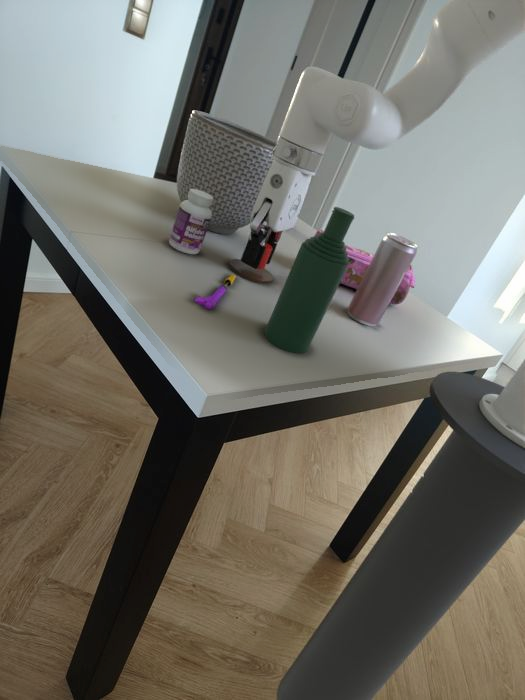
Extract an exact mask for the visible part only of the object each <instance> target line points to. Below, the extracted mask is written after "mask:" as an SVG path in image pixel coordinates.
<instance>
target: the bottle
mask: <svg viewBox="0 0 525 700" xmlns="http://www.w3.org/2000/svg"><path fill="white" fill-rule="evenodd" d="M331 212H332V213H331V215H330V217H329V219H328V221H327V223H326V226H325V229H324V230H323V231H324V233H322V232H321V233H320V234H319V235H315V234H314V235H315V237H314V236H310V237H309V238H306V239H304V241H302V243H301V245H300V247H299V249H298V252H297V253H296V257H295V259H294V261H293V263H292V265H291V268H290V270H289V273H288V275H287V277H286V280H285V282H284V284H283V287H282V289H281V291H280V293H279V296H278V299H277V301H276V303H275V305H274V308H273V310H272V312H271V315H270V317H269V319H268V322H267V324H266V326H265V329H264V331H263V332H264V337H266V339H267V340H268V341H269V342H270V343H272V344H273V345H274V346H276V347H278V348H280V349H281V350H284V351H287V352H289V353H294V354H304V353H306V352H308V350H309V348H310V346H311V343H312V341H314V337H315V336H316V333H317V331H318V329H319V327H320V326H321V323H322V321H323V319H324V317H325V315H326V313H327V311H328V309H329V306H330V305H331V302H332V300H333V298H334V296H335V295H336V292H337V290H338V288H339V286H340V282H341V280H342V278H343V275H344V273H345V271H346V269H347V267H348V265H349V262H348V261H349V257H348V256H347V255H348V253H347V252H346V247H345V246H344V245H346V242H344V240H345V237H346V236H347V233H348V231H349V229H350V228H351V227H350V226H351V224H352V222H353V221H354V220H355V214H354V213H352V212H351V211H348V210H346V209H344V208H341V207H339V206H335V207H334V206H333V210H331Z"/></svg>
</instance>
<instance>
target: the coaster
mask: <svg viewBox="0 0 525 700" xmlns="http://www.w3.org/2000/svg"><path fill="white" fill-rule="evenodd" d="M229 268H230V269H231V270H232V272H234V273H235V274H236V275H238V276H240V277H242V278H243V279H246V280H248V281H251V282H254V283H257V284H263V285H269V284H272V283H273V282H274V280H275V279H274V278H275V277H274V275H273V273H271V272H270V271H269V270H268V269H267V268H266V267H265V268H264V269H254V268H253V267H251V266H249V265H247V264H245V263H243V262H242V261H241V258H234V259H231V260H230V261H229Z"/></svg>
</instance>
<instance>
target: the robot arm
mask: <svg viewBox="0 0 525 700" xmlns="http://www.w3.org/2000/svg"><path fill="white" fill-rule="evenodd" d="M428 32H429V33H428V36H427V39H426V43H425V46H424V48H423V51H422V53H421V55H420V56H419V58H418V59H417V61H416V62H415V63H414V65H413V66H412V67H411V69H410V70H409V71H407V73H406V74H405V75H403V76H402V77H401V78H400V79H399V80H397V81H396V82H395V83H394V84H393V85H392V86H390V87H389V88H388V89H387V90H385V91H384V92H381V91H380V90H378V89H376V87H373V86H371V85H370V84H367V83H365V82H361V81H357V80H352V79H347V78H343V77H340V76H339V75H337V74H335V73H333V72H330V71H328V70H326V69H323V68H320V67H317V66H308V67H306V68H305V69H304V70H303V71H302V73H301V75H300V77H299V80H298V83H297V85H296V88H295V91H294V93H293V96H292V98H291V101H290V104H289V107H288V110H287V112H286V115H285V118H284V120H283V122H282V125H281V128H280V131H279V134H278V136H277V139H276V141H275V142H276V144H275V147H274V150H273V152H272V155H271V158H273V159H274V161H273V163H272V165H271V167H270V169H269V171H268V174H267V176H266V178H265V180H264V183H263V185H262V187H261V190H260V192H259V194H258V197H257V200H256V202H255V205H254V208H253V211H252V215H251V218H252V220H253V222H251V223H250V224H249V228H250V233H249V235H248V239H247V242H246V245H245V247H244V250H243V253H242V256H241V258H240V259H241V261H242V262H243V263H245V264H247V265H249V266H251V267H253V268H254V269H257V268H258V267H259V265H260V262H261V260H262V257H263V255H264V252H265V250H266V247H265V244H266V243H268V244H269V245H271V246H272V248H273V249H272V251H271V254H270V256H269V259H268V261H267V264H266V265H269V264H270V263H271V261H272V258H273V257H274V253H275V250H276V248H277V246H278V243H279V242H280V239H281V236H282V235H283V234H282V233H283V232H285V231H287V230H290V229H292V228H294V227H295V225H296V224H297V221H298V218H299V215H300V212H301V210H302V208H303V205H304V202H305V199H306V196H307V193H308V190H309V187H310V183H311V179H312V176H313V177H315V176H316V174H317V172H318V169H319V167H320V165H321V163H322V160H323V157H324V155H325V152H326V150H327V149H328V148H327V147H328V146H329V144H330V140H331V138H332V136H333V135H334V136H336V137H337V138H339V139H341V140H343V141H345V142H348V143H351V144H353V145H357V146H360V147H363V148H365V149H368V150H372V151H374V150H377V151H378V150H383V149H386V148H388V147H390V146H392V145H394V144H395V143H397V142H399V141H400V140H402V139H403V138H404V137H406V136H407V135H408V134H410V133H411V132H413V131H414V130H415V129H417V128H418V127H420V126H421V125H422V124H424V123H425V122H426V121H428V120H429V119H430V118H431V117H432V116H434V115H435V114H436V113H437V112H438V111H439V110H440V109H441V108H442V107H443V106H444V105H445V104H446V103H447V102H448V101H449V99H450V98H451V97H452V96H453V95H454V94H455V93H456V92H457V91H458V90H459V88H461V86H462V85H463V84H464V83H465V81H466V80H467V79H468V78H469V76H470V75H471V74H472V73H473V72H474V71H476V70H477V69H478V68H479V67H480V66H482V65H483V64H484V63H486V62H487V61H488V60H490V59H491V58H492V57H494V56H495V55H496V54H498V52H501V50H502V49H504V48H505V47H507V46H509V44H511V43H512V42H514V41H515V40H516V39H517V38H519V37H520V36H521V35H523V34H524V33H525V0H449V1H447V2H446V3H444V5H443V6H442V7H440V8H439V10H438V11H437V12H436V13H435V15H434V17H433V19H432V22H431V25H430V29H429V31H428ZM265 222H266V223H265ZM264 223H265V224H264ZM503 387H504V389H503V390H502V392H501V393H500V395H497V394H487V395H485V396H483V397H482V399H481V400H480V402H479V407H480V410H481V412H482V414H483V415H484V416H485V418H486V419H487V420H488V421H489V422H490V423H491V424H492V425H493V426H494V427H495V428H496V429H497V430H498V431H499V432H501V433H502V434H503V435H504V436H506V437H507V438H508V439H510V440H511V441H513V442H514V443H516V444H517V445H519V446H521V447H523V448H524V449H525V358H524V359H523V361H522V362H521V363H520V365H519V366H518V368H517V369H516V370H515V372H514V374H512V376H511V378H510V379H509V381H508V382H507V383H506V384H505V386H503Z"/></svg>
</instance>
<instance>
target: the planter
mask: <svg viewBox="0 0 525 700" xmlns="http://www.w3.org/2000/svg"><path fill="white" fill-rule="evenodd" d="M276 142H277V141H275V140H273V139H271V138H269V137H267V136H265V135H263V134H261V133H258V132H256V131H255V130H252V129H250V128H247V127H245V126H242V125H240V124H238V123H235V122H232V121H230V120H227V119H225V118H223V117H220V116H217V115H214V114H211V113H207V112H204V111H201V110H197V109H196V110H195V109H194V110H192V111H191V113H190V116H189V119H188V123H187V127H186V131H185V135H184V139H183V145H182V148H181V153H180V158H179V163H178V168H177V174H176V192H177V195H178V198H179V201H180V203H182V202H183V201H185V200H188V193H189V191H190V189H197V190H200V191H203V192H205V193H207V194H209V195H211V196H212V197H213V201H212V205H211V206H210V207H209V209H210V210H211V212H212V217H211V220H210V223H209V226H208V229H207V231H210V232H213V233H216V234H220V235H233V234H234V233H236V232H237V230H239V229H242V228H244V227H247V226H248V225H251V223H252V222H253V220H252V218H251V215H252V211H253V208H254V205H255V202H256V200H257V197H258V194H259V192H260V190H261V187H262V185H263V183H264V180H265V178H266V176H267V174H268V171H269V169H270V167H271V165H272V163H273V161H274V159H273V158H271V155H272V152H273V150H274V147H275V144H276Z"/></svg>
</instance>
